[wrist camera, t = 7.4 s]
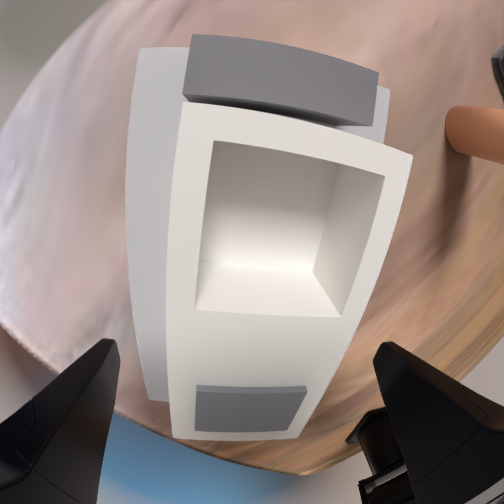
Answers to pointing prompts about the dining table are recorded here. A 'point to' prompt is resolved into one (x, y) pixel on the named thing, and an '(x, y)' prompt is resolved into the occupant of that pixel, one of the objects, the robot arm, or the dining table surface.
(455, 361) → the dining table surface
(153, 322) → the board
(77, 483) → the robot arm
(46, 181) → the dining table surface
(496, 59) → the phone
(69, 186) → the dining table surface
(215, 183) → the white socket block
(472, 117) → the orange-brown tapered capsule
